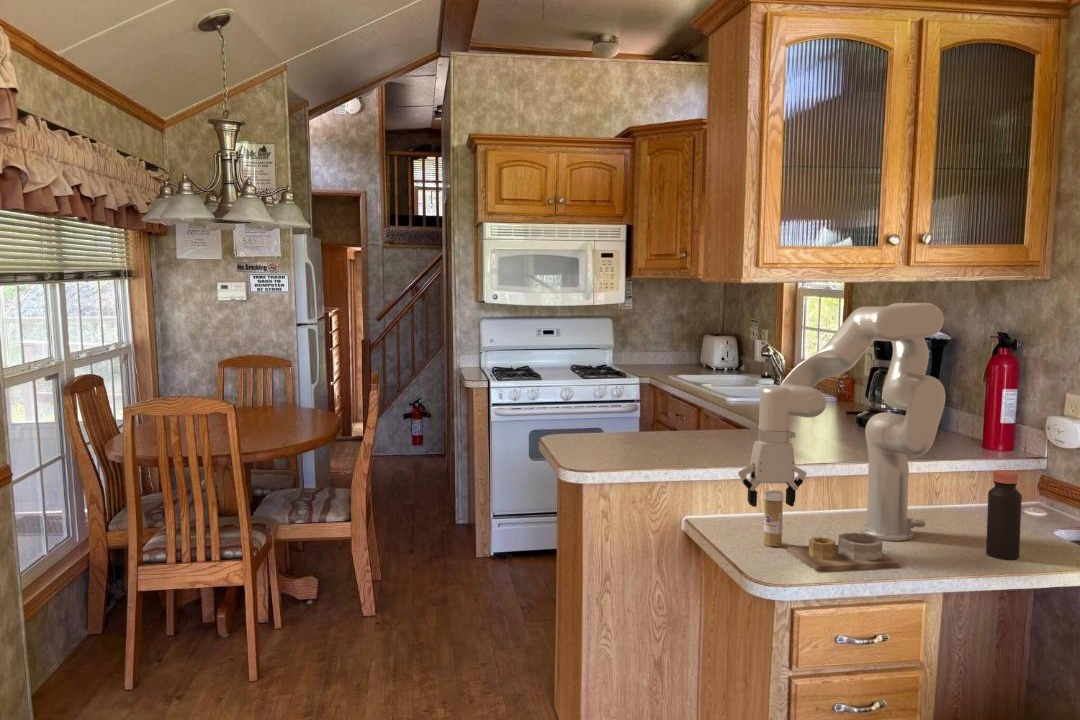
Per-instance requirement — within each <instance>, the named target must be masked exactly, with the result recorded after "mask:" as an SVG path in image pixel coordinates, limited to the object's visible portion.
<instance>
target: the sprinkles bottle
mask: <svg viewBox="0 0 1080 720" xmlns="http://www.w3.org/2000/svg"><path fill="white" fill-rule="evenodd" d="M763 499H764V512H763V513H764V515H763V516H764V519H763V543H762V544H764V545H765V546H766V547H767V546H768V547H770V546H776V547H777V546H779V547H781V546H782V545H783V542H782V541H783V540H782V539H783V538H782V536H783V502H784V492H783V491H782V490H776V489H767V490H764V494H763ZM776 547H775V548H776ZM777 548H778V547H777Z"/></svg>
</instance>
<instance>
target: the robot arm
mask: <svg viewBox="0 0 1080 720" xmlns="http://www.w3.org/2000/svg"><path fill="white" fill-rule="evenodd" d="M944 316H945V315H944V313H943V311H942V310H941V309H940V307H939V306H937V305H935V304H933V303H930V302H899V303H898V302H896V303H892V304H889V305H887V306H861V307H858V308H856V309H855V310H854V311H852V312H851V313H850V314H849V316H848V317H847V318H846V319H845V321H844V322H843V323H842V324H841V325H840V327H838V329H837V330H836V332H834V333H833V335H832V336H831V338H830V339H829V340H828V341H827V343H826V344H825V345H824V346H823V347H822V348H821V349H819V350H818V351H816V352H815V353H813V354H812V355H810V356H808V357H807V358H806V359H804V360H803V361H802V362H800V363H799V364H797V365H796V366H795V367H793V369H792V370H791V371H790V372H789V373H788V374H787V375H786V376H785V378H784V379H783V380H782V382H780V385H778V386H773V385H771V386H770V385H769V386H768V385H767V386H764V387H762V388H761V389H760V393H759V408H758V409H759V411H758V412H759V413H758V436H757V440H755V441H754V442H753V445H752V450H751V451H752V452H751V457H750V463H749V466H746V467H745V468H742V469H741V470H739V471H738V473H737V474H738V477H739V479H740V481H741V483H742V484H743V485H744V486H745V488H747V503H748V505H749V506H751V507H753V508H756V507H757V506H758V505H757V503H758V491H757V490H756V489H757V488H758V487H759V486H760V484H786V486H787V487H786V488H785V504H786V505H788V506H790V507H794V506H795V502H796V492H797V490H798V489H799V487H800V486H801V485H802V484H803V482H804V480H805V477H806V476H807V474H808V473H807V471H805V470H803V469H801V468H799V467H797V466H796V465H795V452H794V447H793V443H792V441H791V439H792V438H795V437H796V432H793V431H792V429H791V428H792V427H791V426H792V424H791V423H792V417H793V416H794V417H800V418H809V419H812V418H815V417H819V416H820V415H822V413H824V411H825V410H826V408H827V404H828V403H827V398H826V396H825V394H824V393H823V391H821V390H819V389H818V388H815V386H816V385H817V384H819V383H820V382H822V381H824V380H826V379H829V378H830V377H834V376H837V375H840V374H844V373H845V372H849V371H850V370H851V369H853V368H854V366H856V364H857V363H858V361H859V360H860V359H861V358H862V356H864V354H865V353H866V352H867V350H868V349H869V347H870V346H871V345H872V344H873V343H874V342H875V341H879V342H891V345H892V356H891V360H890V364H889V367H888V371H887V374H886V377H885V381H884V385H883V388H882V389H883V390H882V393H881V394H882V400H883V402H884V403H885V404H886V405H887V406H889V407H890V408H892V409H893V408H894V409H896V410H902V411H906V412H905V415H904V414H899V413H894V412H879V413H876V414H874V415H872V416H871V417H870V418H869V419H868V421H867V422H866V424H865V431H864V433H865V440H866V441H865V442H866V447H867V454H868V456H867V457H868V474H867V475H868V477H867V479H868V480H867V507H866V508H867V511H866V512H867V513H866V523H864V524H862V525H860V528H859V529H860V530H859V531H860V532H861V534H868V535H872V536H876V537H878V538H880V539H882V541H883V540H884V541H893V542H894V541H901V540H902V541H908V539H909V540H911V539H913V538H914V531H913V529H914V528H915V527H916V528H924V527H925V526H926V522H925V519H921V518H920V519H915V518H913V517H909V516H908V514H909V513H908V510H909V509H908V508H909V507H908V504H909V476H910V469H909V468H910V467H909V461H908V458H907V457H909V456H910V457H922V456H923V455H924V454H926V453H927V452H928V451H929V450H930V449H931V447H932V446H933V444H934V442H935V439H936V436H937V433H938V429H939V426H940V422H941V419H942V415H943V412H944V408H945V404H946V391H945V386H944V385H943V384H942V382H941V381H940V379H938V378H936V377H935V376H931V375H926V373H927V368H928V365H929V359H930V353H929V347H928V345H927V341H926V339H927V338H931V337H933V336H935V335H937V334H938V333H940V331H941V329H942V328H943V326H944V322H945V317H944ZM925 338H926V339H925ZM796 473H797V477H795V474H796ZM747 475H748V476H749V478H750V480H749V479H748V478H747Z"/></svg>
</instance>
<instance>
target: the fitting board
mask: <svg viewBox="0 0 1080 720" xmlns="http://www.w3.org/2000/svg"><path fill="white" fill-rule="evenodd" d="M788 551H789V552H790V553H791V554H793V555H794V556H796V557H797V558H799V559H800V560H801V561H803V562H804V563H806V564H807V565H808V566H810V567H811V568H813V569H814V570H815V572H816V571H824V572H837V571H838V572H840V571H856V570H857V571H858V570H861V571H862V570H875V569H877V570H878V569H895V568H896V569H897V568H900V562H899V561H898V560H896V559H895V558H892V557H891V556H889V555H887V554H885V553H884V552H883V539H880V538H878V537H876V536H872V535H868V534H863V533H860V532H859V533H858V532H847V533H840V534H838V544H836V541H835V540H833V539H831V538H828V537H821V536H818V537H811V538H809V539H808V545H807V546H788V547H787V552H788ZM790 553H789V554H790ZM791 554H790V555H791ZM793 555H792V556H793ZM794 556H793V557H794ZM797 558H796V559H797ZM800 560H799V561H800ZM801 561H800V562H801ZM803 562H802V563H803ZM804 563H803V564H804ZM806 564H805V565H806ZM807 565H806V566H807ZM808 566H807V567H808ZM810 567H809V568H810ZM811 568H810V569H811ZM813 569H812V570H813ZM814 570H813V571H814Z"/></svg>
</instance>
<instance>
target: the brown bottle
mask: <svg viewBox="0 0 1080 720" xmlns="http://www.w3.org/2000/svg"><path fill="white" fill-rule="evenodd" d="M1018 474H1019V473H1018V472H1015V471H1011V470H1003V469H1002V470H999V469H998V470H993V477H992V479H993V480H992V481H993V484H994V486H993V487H992V488H990V489H989V490H988V492H987V493H988V494H987V517H986V521H987V522H986V540H985V541H986V546H985V547H986V548H985V552H986V555H988V556H990V557H992V558H995V559H999V560H1005V561H1006V560H1007V561H1013V560H1014V561H1015V560H1017V559H1019V558H1020V547H1021V523H1022V522H1021V521H1022V498H1023V496H1022V494H1021V492H1020V491H1018V489H1017V488H1016V486H1018V480H1019V477H1018V476H1019V475H1018Z"/></svg>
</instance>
